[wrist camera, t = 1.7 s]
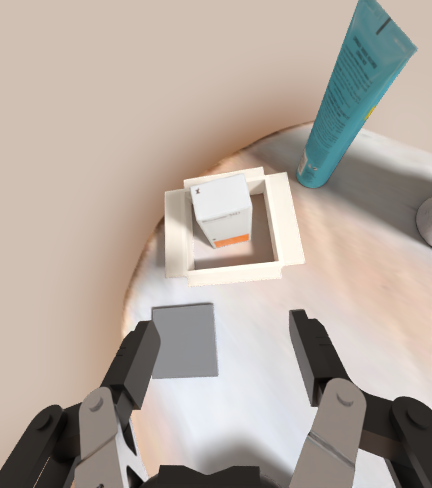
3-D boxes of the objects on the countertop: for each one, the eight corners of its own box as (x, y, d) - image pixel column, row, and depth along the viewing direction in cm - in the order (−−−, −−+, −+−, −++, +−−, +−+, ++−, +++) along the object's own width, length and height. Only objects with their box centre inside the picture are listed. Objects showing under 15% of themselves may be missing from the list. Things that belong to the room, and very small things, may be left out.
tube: (338, 187, 32) (455, 32, 14) (308, 199, 32) (384, 63, 14) (314, 151, 34) (387, -24, 16) (286, 162, 34) (327, 4, 16)
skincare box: (214, 250, 32) (193, 221, 21) (209, 225, 34) (187, 185, 22) (252, 241, 32) (253, 206, 20) (246, 216, 33) (243, 170, 22)
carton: (280, 178, 34) (284, 162, 30) (300, 278, 29) (307, 275, 25) (173, 195, 36) (164, 183, 32) (175, 290, 32) (165, 289, 28)
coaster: (213, 304, 30) (212, 304, 30) (218, 374, 28) (217, 376, 27) (154, 309, 31) (152, 309, 31) (154, 377, 29) (152, 378, 28)
